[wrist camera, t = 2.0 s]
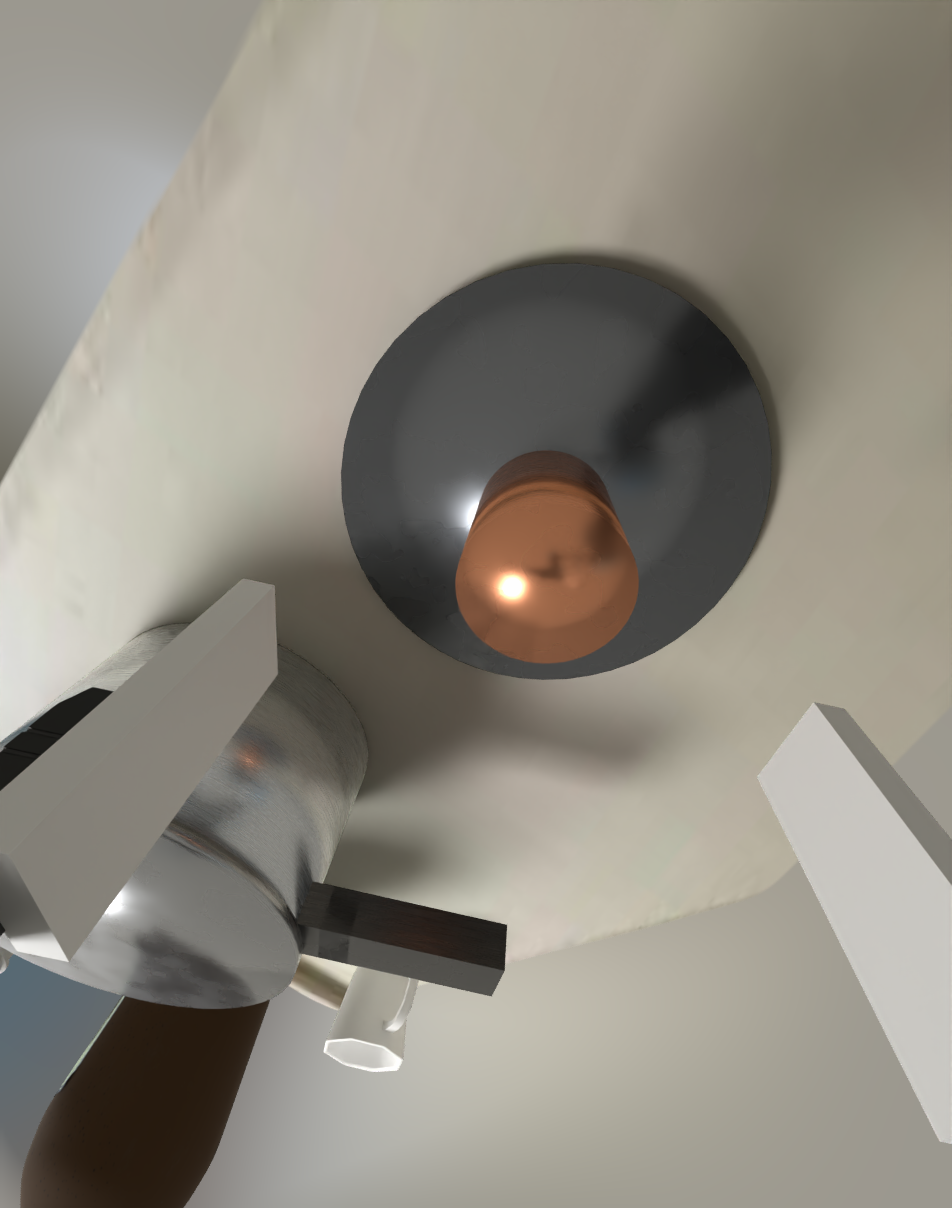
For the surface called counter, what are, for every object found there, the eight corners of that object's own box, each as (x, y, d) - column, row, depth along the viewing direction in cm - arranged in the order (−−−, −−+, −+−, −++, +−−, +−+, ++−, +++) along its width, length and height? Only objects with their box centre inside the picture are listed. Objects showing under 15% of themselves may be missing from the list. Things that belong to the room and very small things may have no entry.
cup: (341, 944, 47) (307, 1051, 40) (393, 908, 42) (364, 1022, 35) (400, 971, 49) (376, 1078, 42) (456, 940, 44) (440, 1055, 37)
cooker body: (545, 694, 28) (549, 911, 18) (483, 867, 37) (462, 1072, 27) (74, 588, 28) (-197, 743, 18) (134, 788, 37) (-19, 964, 27)
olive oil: (309, 863, 40) (48, 1479, 19) (317, 925, 46) (121, 1456, 24) (188, 841, 40) (-203, 1419, 19) (210, 905, 46) (-75, 1410, 25)
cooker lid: (859, 327, 18) (1061, 329, 11) (660, 699, 27) (700, 824, 21) (361, 214, 18) (247, 146, 11) (340, 627, 28) (275, 727, 21)
